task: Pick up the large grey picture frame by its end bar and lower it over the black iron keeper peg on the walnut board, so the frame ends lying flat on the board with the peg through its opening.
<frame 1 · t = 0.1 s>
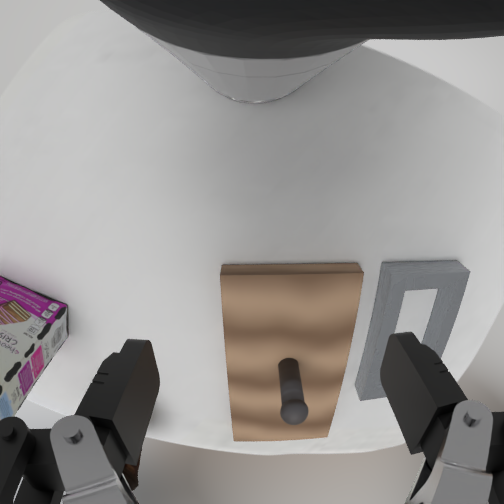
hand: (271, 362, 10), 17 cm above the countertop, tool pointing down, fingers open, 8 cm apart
grey picture frame: (405, 328, 31), on the countertop
candy bar box: (31, 302, 30), on the countertop
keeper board: (285, 365, 32), on the countertop
coffee cup: (126, 402, 36), on the countertop
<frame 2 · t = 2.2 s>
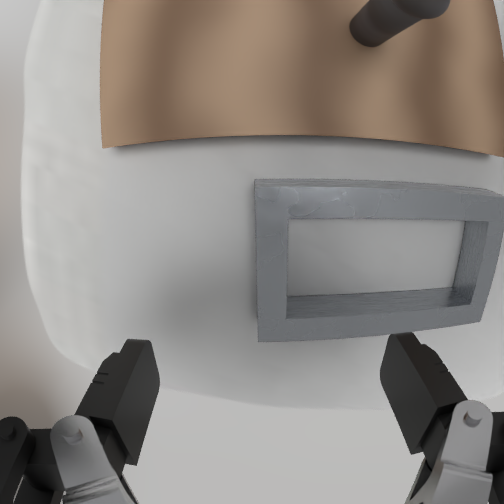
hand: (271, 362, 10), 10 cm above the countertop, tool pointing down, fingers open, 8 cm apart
grey picture frame: (383, 252, 19), on the countertop
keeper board: (322, 36, 14), on the countertop
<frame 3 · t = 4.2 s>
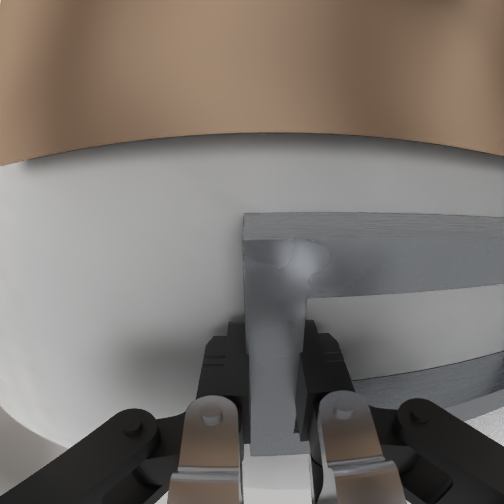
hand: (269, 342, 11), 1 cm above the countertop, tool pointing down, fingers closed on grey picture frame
grey picture frame: (438, 319, 12), on the countertop, touching gripper
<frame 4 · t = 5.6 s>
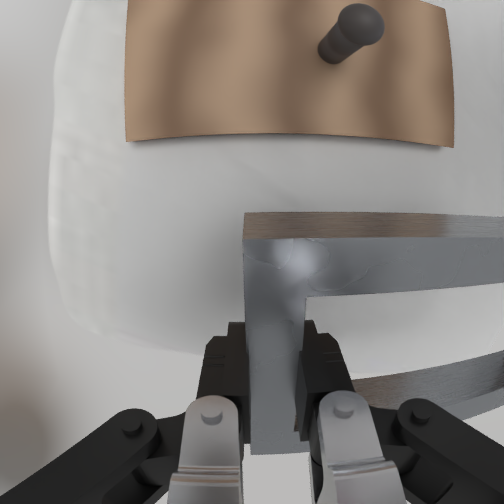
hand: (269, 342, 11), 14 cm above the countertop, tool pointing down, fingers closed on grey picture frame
grey picture frame: (437, 318, 12), point 13 cm above the countertop, touching gripper
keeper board: (298, 55, 19), on the countertop
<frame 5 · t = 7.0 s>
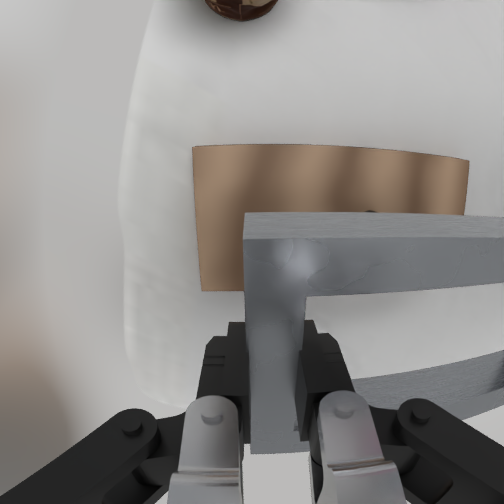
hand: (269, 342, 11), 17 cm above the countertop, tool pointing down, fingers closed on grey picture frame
grey picture frame: (437, 318, 12), point 16 cm above the countertop, touching gripper
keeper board: (340, 215, 27), on the countertop
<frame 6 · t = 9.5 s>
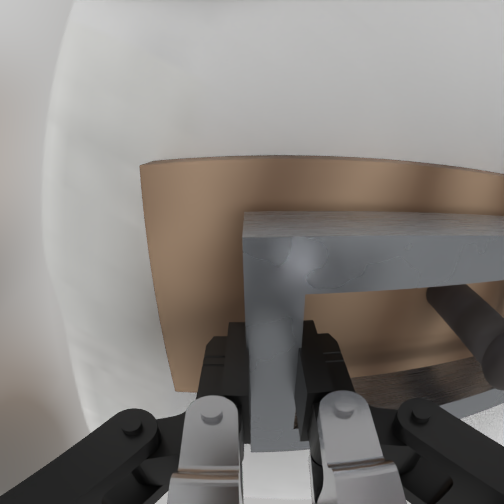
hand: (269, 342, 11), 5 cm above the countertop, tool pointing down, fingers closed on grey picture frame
grey picture frame: (436, 316, 12), point 4 cm above the countertop, touching gripper
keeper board: (394, 274, 16), on the countertop
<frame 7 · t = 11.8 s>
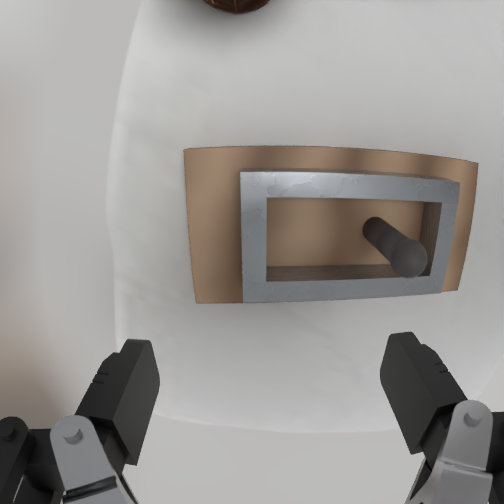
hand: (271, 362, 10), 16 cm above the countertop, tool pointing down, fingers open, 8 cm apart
grey picture frame: (349, 229, 23), point 2 cm above the countertop, touching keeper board
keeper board: (343, 221, 25), on the countertop
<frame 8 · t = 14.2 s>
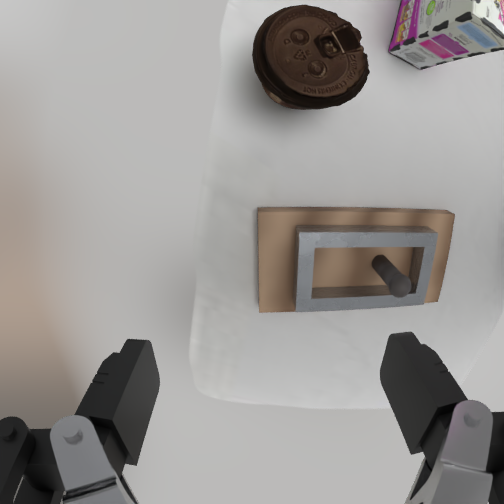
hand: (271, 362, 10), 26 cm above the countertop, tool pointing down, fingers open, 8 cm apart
grey picture frame: (363, 263, 35), point 2 cm above the countertop, touching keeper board
candy bar box: (413, 26, 27), on the countertop
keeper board: (358, 256, 37), on the countertop
coffee cup: (293, 80, 30), on the countertop
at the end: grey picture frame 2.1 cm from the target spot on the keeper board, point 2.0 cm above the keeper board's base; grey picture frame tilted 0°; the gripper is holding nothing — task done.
